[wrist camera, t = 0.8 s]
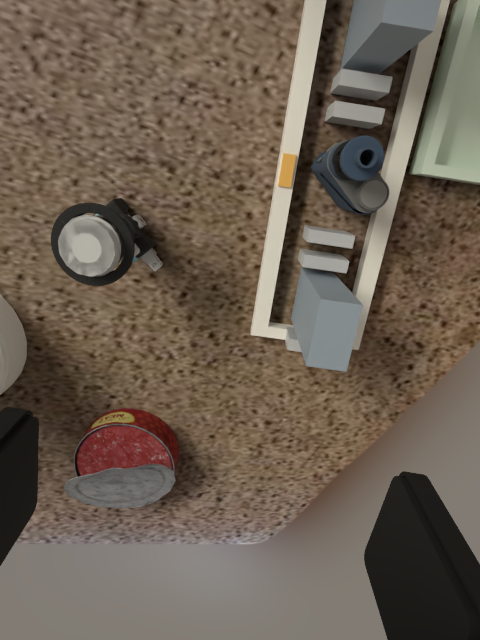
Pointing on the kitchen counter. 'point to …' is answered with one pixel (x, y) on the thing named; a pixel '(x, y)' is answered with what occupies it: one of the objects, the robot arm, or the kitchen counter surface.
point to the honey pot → (10, 346)
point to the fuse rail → (365, 82)
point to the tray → (454, 104)
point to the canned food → (124, 460)
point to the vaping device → (353, 174)
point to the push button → (101, 242)
